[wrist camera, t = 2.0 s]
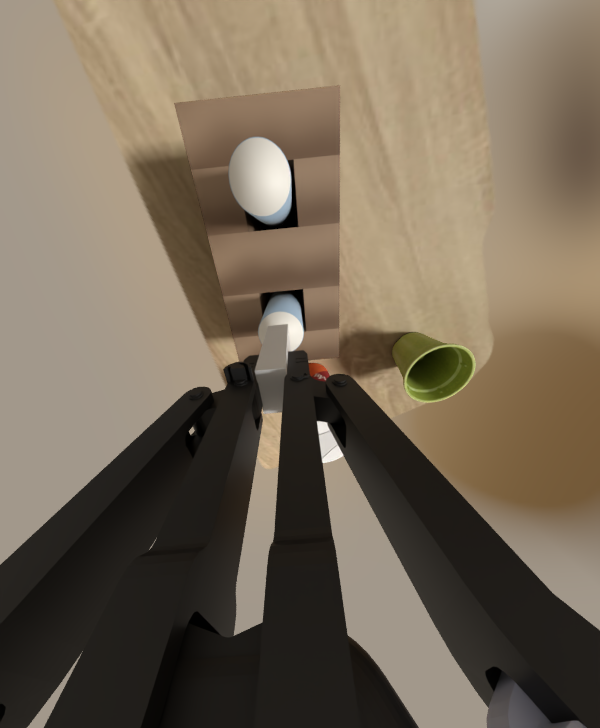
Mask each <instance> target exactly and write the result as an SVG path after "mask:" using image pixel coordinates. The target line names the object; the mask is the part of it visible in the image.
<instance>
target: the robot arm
mask: <svg viewBox="0 0 600 728" xmlns="http://www.w3.org/2000/svg"><path fill="white" fill-rule="evenodd" d="M223 370H224V373H225V376H226V380H227V383H228V384H227V386H226V388H225V389H224V390H221V391H218V392H214V393H212V392H211V390H210V389H209V388H208V387H197V388H194V389H192V390H190V391H188V392H186V393H185V394H184V395H183V396H182V397H181V398H180V399H178V400H177V401H176V402H175V403H174V404H173V405H172V406H171V407H170V408H169V409H168V410H167V411H166V412H164V414H162V415H161V416H160V417H159V418H158V419H157V420H156V421H155V422H154V423H153V424H152V425H150V426H149V427H148V428H147V429H146V430H145V431H144V432H143V433H142V434H141V435H140V436H139V437H138V438H136V439H135V440H134V441H133V442H132V443H131V444H130V445H129V446H128V447H127V448H126V449H125V450H124V451H122V452H121V453H120V454H119V455H118V456H117V457H116V458H115V459H114V460H113V461H112V462H111V463H110V464H108V466H106V467H105V468H104V469H103V470H102V471H101V472H100V473H99V474H98V475H97V476H96V477H94V478H93V479H92V480H91V481H90V482H89V483H88V484H87V485H86V486H85V487H84V488H83V489H82V490H81V491H79V492H78V494H76V495H75V496H74V497H73V498H72V499H71V500H70V501H69V502H68V503H67V504H65V505H64V506H63V507H62V508H61V509H60V510H59V511H58V512H57V513H56V514H55V515H54V516H53V517H51V518H50V519H49V520H48V521H47V522H46V523H45V524H44V525H43V526H42V527H41V528H40V529H39V530H37V531H36V532H35V533H34V534H33V535H32V536H31V537H30V538H29V539H28V540H27V541H26V542H25V543H23V544H22V545H21V546H20V547H19V548H18V549H17V550H16V551H15V552H14V553H13V554H12V555H11V556H10V557H8V559H6V560H5V561H4V562H3V563H2V564H1V565H0V728H27V727H28V726H29V724H30V723H31V722H32V720H33V719H34V718H35V716H36V715H37V714H38V712H39V711H40V710H41V708H42V707H43V706H44V704H45V703H46V702H47V700H48V699H49V698H50V697H51V695H52V694H53V692H54V691H55V690H56V689H57V687H58V686H59V685H60V683H61V682H62V680H63V679H64V677H65V676H66V674H67V673H68V672H69V670H70V669H71V667H72V666H73V664H74V663H75V661H76V660H77V658H78V657H79V656H80V654H81V653H82V654H81V656H80V658H79V660H78V662H77V664H76V666H75V668H74V670H73V672H72V674H71V676H70V678H69V680H68V681H67V684H66V686H65V687H64V689H63V691H62V693H61V695H60V697H59V699H58V701H57V703H56V705H55V707H54V709H53V711H52V713H51V715H50V717H49V719H48V720H47V723H46V724H45V726H44V728H419V727H418V726H417V724H416V723H415V721H414V720H413V718H412V716H411V715H410V714H409V712H408V710H407V709H406V707H405V706H404V704H403V703H402V701H401V700H400V698H399V696H398V695H397V693H396V692H395V690H394V689H393V687H392V686H391V684H390V683H389V681H388V680H387V678H386V676H385V675H384V674H383V672H382V671H381V669H380V668H379V667H378V665H377V664H376V663H375V662H374V660H373V659H372V658H371V657H370V655H369V654H368V653H367V652H366V651H365V650H364V649H363V648H362V647H361V646H360V645H359V644H358V643H357V642H356V641H354V640H353V639H352V638H351V637H349V636H348V635H347V628H346V621H345V615H344V607H343V600H342V592H341V585H340V578H339V571H338V564H337V557H336V550H335V545H334V540H333V536H332V530H331V523H330V516H329V508H328V501H327V494H326V486H325V478H324V471H323V463H322V456H321V448H320V441H319V434H318V426H317V421H321V422H327V425H328V427H329V429H330V431H331V433H332V435H333V437H334V439H335V440H336V442H337V444H338V446H339V448H340V450H341V452H342V453H343V455H344V457H345V459H346V461H347V463H348V465H349V466H350V468H351V470H352V472H353V474H354V476H355V478H356V480H357V481H358V483H359V485H360V487H361V489H362V491H363V492H364V494H365V496H366V498H367V500H368V502H369V504H370V505H371V507H372V509H373V511H374V513H375V515H376V517H377V518H378V520H379V522H380V524H381V526H382V528H383V530H384V532H385V533H386V535H387V537H388V539H389V541H390V543H391V545H392V546H393V548H394V550H395V552H396V554H397V556H398V558H399V559H400V561H401V563H402V565H403V567H404V569H405V571H406V572H407V574H408V576H409V578H410V580H411V582H412V583H413V586H414V587H415V589H416V591H417V593H418V595H419V597H420V599H421V600H422V602H423V604H424V606H425V608H426V610H427V612H428V613H429V615H430V617H431V619H432V621H433V623H434V625H435V626H436V628H437V630H438V631H439V633H440V635H441V637H442V638H443V640H444V641H445V643H446V645H447V647H448V649H449V650H450V652H451V654H452V656H453V657H454V659H455V660H456V662H457V663H458V665H459V666H460V668H461V669H462V671H463V672H464V674H465V675H466V677H467V678H468V680H469V681H470V683H471V684H472V686H473V687H474V689H475V690H476V692H477V693H478V695H479V696H480V697H481V698H482V700H483V701H484V703H485V704H486V705H487V706H488V708H489V709H488V714H487V728H600V631H599V630H598V629H597V628H596V627H595V626H593V625H592V624H591V623H590V622H588V621H587V620H586V619H585V618H583V617H582V616H581V615H579V614H578V613H577V612H576V611H574V610H573V609H572V608H571V607H569V606H568V605H567V604H566V603H564V602H563V601H562V600H560V599H559V598H558V597H556V596H555V595H554V594H553V593H552V592H551V591H550V590H549V589H548V588H547V587H546V585H545V584H544V583H543V582H542V581H541V580H540V579H539V578H538V577H537V576H536V575H535V574H534V573H533V572H532V570H531V569H530V568H529V567H528V566H527V565H526V564H525V563H524V562H523V561H522V560H521V559H520V558H519V556H518V555H517V554H516V553H515V552H514V551H513V550H512V549H511V548H510V547H509V546H508V545H507V544H506V543H505V542H504V541H503V539H502V538H501V537H500V536H499V535H498V534H497V533H496V532H495V531H494V530H493V529H492V527H491V526H490V525H489V524H488V523H487V522H486V521H485V520H484V519H483V518H482V517H481V516H480V515H479V514H478V512H477V511H476V510H475V509H474V508H473V507H472V506H471V505H470V504H469V503H468V502H467V501H466V500H465V499H464V497H463V496H462V495H461V494H460V493H459V492H458V491H457V490H456V489H455V488H454V487H453V486H452V485H451V484H450V483H449V481H448V480H447V479H446V478H445V477H444V476H443V475H442V474H441V473H440V472H439V471H438V470H437V468H436V467H435V466H434V465H433V464H432V463H431V462H430V461H429V460H428V459H427V458H426V457H425V455H424V454H423V453H422V452H421V451H420V450H419V449H418V448H417V447H416V446H415V445H414V444H413V443H412V442H411V441H410V439H408V437H407V436H406V435H405V434H404V433H403V432H402V431H401V430H400V429H399V428H398V427H397V425H396V424H395V423H394V422H393V421H392V420H391V419H390V418H389V417H388V416H387V415H386V414H385V413H384V411H383V410H382V409H381V408H380V407H379V406H378V405H377V404H376V403H375V402H374V401H373V400H372V399H371V397H370V396H369V395H368V394H367V393H366V392H365V391H364V390H363V389H362V388H361V387H360V386H359V385H358V384H357V382H356V381H355V380H354V379H353V378H351V377H350V376H348V375H345V374H334V375H331V376H329V377H328V378H327V379H326V381H319V380H316V379H314V378H312V377H311V375H310V371H309V363H308V356H307V353H306V352H305V351H304V350H299V351H291V347H290V338H289V330H288V324H283V325H272V326H268V327H267V331H266V334H265V337H264V341H263V344H262V347H261V351H260V354H259V355H250V356H248V357H247V358H246V359H244V361H243V362H235V363H232V364H230V365H228V366H226V367H225V368H224V369H223ZM262 407H263V412H264V414H266V413H278V412H282V423H281V439H280V455H279V471H278V487H277V502H276V517H275V532H274V540H273V543H272V544H271V546H270V550H269V555H268V565H267V576H266V589H265V601H264V613H263V623H261V624H258V625H256V626H254V627H252V628H250V629H248V630H246V631H243V632H241V633H240V634H237V635H235V636H233V635H234V628H235V620H236V593H235V592H236V581H237V575H238V567H239V562H240V556H241V550H242V544H243V537H244V532H245V526H246V519H247V513H248V507H249V501H250V495H251V489H252V483H253V477H254V471H255V465H256V459H257V452H258V446H259V440H260V434H261V428H262V422H263V418H262V414H261V411H262ZM192 427H194V430H195V431H194V433H193V434H192V435H190V433H189V430H190V429H191V428H192ZM157 536H158V537H157ZM156 538H157V539H156ZM155 539H156V541H155ZM154 541H155V543H154ZM153 543H154V544H153ZM152 544H153V546H152ZM151 546H152V548H151V549H150V547H151ZM149 549H150V550H149ZM148 550H149V551H148ZM82 651H83V652H82Z"/></svg>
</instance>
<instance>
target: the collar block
mask: <svg viewBox="0 0 600 728" xmlns="http://www.w3.org/2000/svg"><path fill="white" fill-rule="evenodd" d="M174 105H175V109H176V112H177V116H178V120H179V124H180V128H181V132H182V136H183V140H184V144H185V148H186V152H187V156H188V160H189V164H190V168H191V172H192V176H193V180H194V184H195V188H196V192H197V196H198V200H199V204H200V208H201V212H202V216H203V220H204V224H205V227H206V231H207V235H208V239H209V243H210V247H211V251H212V255H213V259H214V263H215V267H216V271H217V275H218V279H219V283H220V287H221V291H222V295H223V299H224V303H225V307H226V311H227V315H228V319H229V323H230V327H231V331H232V335H233V339H234V342H235V346H236V350H237V354H238V358H239V362H243V361H244V359H246V358H247V357H248V356H250V355H259V354H260V351H261V347H262V343H261V341H260V339H259V336H258V328H259V324H260V322H261V319H262V317H263V315H264V312H265V310H266V307H267V305H268V302H269V300H270V297H271V295H270V292H277V291H288V290H298V289H301V293H302V306H303V308H301V314H302V322H303V329H304V337H303V340H302V343H301V344H300V346H299V347H298V348H297V349H295V350H294V351H299V350H304V351H305V352H306V353H307V356H308V360H316V359H327V358H339V221H340V85H338V86H329V87H320V88H310V89H301V90H292V91H282V92H273V93H264V94H254V95H245V96H236V97H226V98H217V99H208V100H199V101H189V102H180V103H174ZM251 137H263V138H266V139H269V140H270V141H272V142H273V143H275V144H276V145H277V146H278V147H279V148H280V149H281V150H282V152H283V153H284V155H285V157H286V159H287V161H288V164H289V167H290V171H291V188H293V192H294V205H295V218H296V227H293V228H283V229H273V230H263V231H261V228H260V221H259V220H258V219H256V218H255V217H254V216H252V215H251V214H249V213H248V212H246V211H245V210H244V209H243V208H242V207H241V206H240V205H239V204H238V202H237V201H236V199H235V198H234V195H233V193H232V191H231V188H230V184H229V175H228V171H229V163H230V159H231V156H232V154H233V152H234V150H235V149H236V147H237V146H238V145H239V144H240V143H241V142H242V141H244V140H246V139H248V138H251Z"/></svg>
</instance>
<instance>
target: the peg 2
mask: <svg viewBox="0 0 600 728" xmlns="http://www.w3.org/2000/svg"><path fill="white" fill-rule="evenodd" d="M283 324H288V330H289V338H290V347H291V351H294V350H295V349H297V348H298V347H299V346H300V344H301V343H302V340H303V337H304V329H303V322H302V314H301V306H300V300H299V297H298V295H297V294H296V293H295V292H294V291H292V290H288V291H277V292H274V293H273V294H272V295H271V297H270V300H269V302H268V305H267V307H266V310H265V312H264V315H263V317H262V319H261V322H260V324H259V328H258V336H259V339H260V341H261V343H262V344H263V341H264V337H265V334H266V331H267V327H268V326H272V325H283Z"/></svg>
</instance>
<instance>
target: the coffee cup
mask: <svg viewBox="0 0 600 728" xmlns="http://www.w3.org/2000/svg"><path fill="white" fill-rule="evenodd" d="M309 371H310V375H311V377H312V378H314V379H316V380H319V381H326V379H327V378H328V377H329V376H330V375H329V373H328V371H327V370H326V368H325V367H324V366H322V365H320V364H317V363H309ZM317 426H318V434H319V441H320V448H321V456H322V463H326V462H331V461H334V460H336V459H338V458H340V457H342V456H343V453H342V452H341V450H340V448H339V446H338V444H337V442H336V440H335V439H334V437H333V435H332V433H331V431H330V429H329V427H328V425H327V422H321V421H317Z"/></svg>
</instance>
